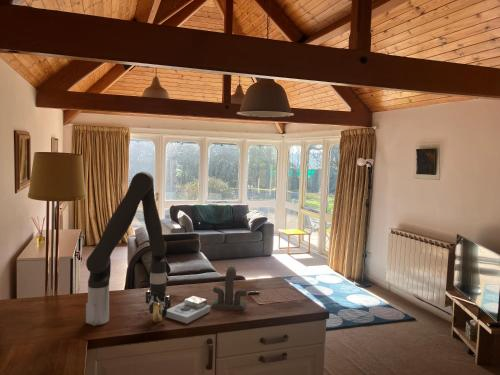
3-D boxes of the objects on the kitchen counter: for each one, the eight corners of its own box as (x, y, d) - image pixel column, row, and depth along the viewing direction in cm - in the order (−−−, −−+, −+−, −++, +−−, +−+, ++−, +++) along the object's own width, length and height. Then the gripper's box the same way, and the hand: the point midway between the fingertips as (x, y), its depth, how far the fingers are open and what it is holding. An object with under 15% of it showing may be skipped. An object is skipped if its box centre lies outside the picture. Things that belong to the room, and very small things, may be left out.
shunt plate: (198, 308, 196) (198, 303, 195) (184, 304, 200) (184, 299, 200) (206, 304, 201) (206, 299, 201) (193, 300, 206) (193, 295, 206)
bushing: (157, 322, 185) (157, 305, 184) (151, 320, 187) (151, 304, 186) (163, 319, 188) (163, 303, 188) (157, 317, 190) (157, 301, 190)
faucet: (248, 299, 219) (249, 264, 217) (245, 310, 203) (246, 272, 202) (216, 297, 221) (217, 262, 219) (210, 308, 205) (211, 270, 203)
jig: (186, 323, 185) (187, 317, 185) (164, 316, 192) (164, 310, 192) (210, 311, 200) (210, 305, 200) (188, 305, 207) (189, 299, 207)
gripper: (175, 281, 186) (174, 315, 187) (153, 276, 193) (152, 308, 194) (163, 286, 179) (163, 321, 181) (141, 280, 187) (141, 313, 188)
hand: (157, 314), depth 188 cm, fingers open, 7 cm apart
